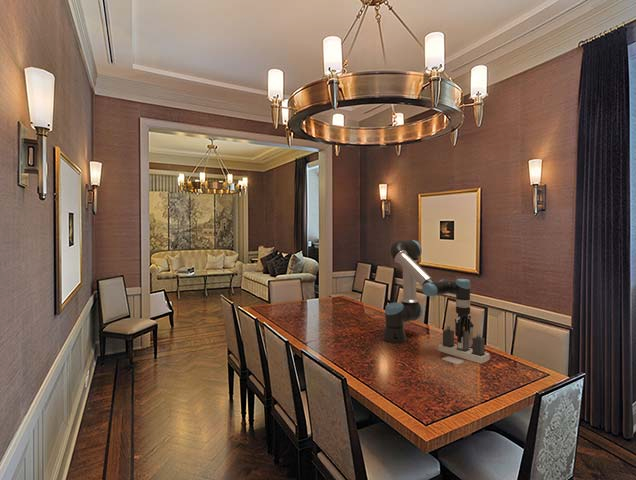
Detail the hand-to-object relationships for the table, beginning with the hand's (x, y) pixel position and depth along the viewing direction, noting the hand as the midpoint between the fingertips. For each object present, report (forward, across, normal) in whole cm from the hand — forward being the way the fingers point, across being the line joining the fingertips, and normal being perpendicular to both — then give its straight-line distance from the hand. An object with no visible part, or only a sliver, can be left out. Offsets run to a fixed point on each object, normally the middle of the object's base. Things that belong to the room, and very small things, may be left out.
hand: (462, 346), depth 200 cm
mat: (+5, -10, 0) cm, 12 cm away
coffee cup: (+5, +18, +8) cm, 20 cm away
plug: (+3, 0, 0) cm, 3 cm away
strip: (+5, 0, 0) cm, 5 cm away
